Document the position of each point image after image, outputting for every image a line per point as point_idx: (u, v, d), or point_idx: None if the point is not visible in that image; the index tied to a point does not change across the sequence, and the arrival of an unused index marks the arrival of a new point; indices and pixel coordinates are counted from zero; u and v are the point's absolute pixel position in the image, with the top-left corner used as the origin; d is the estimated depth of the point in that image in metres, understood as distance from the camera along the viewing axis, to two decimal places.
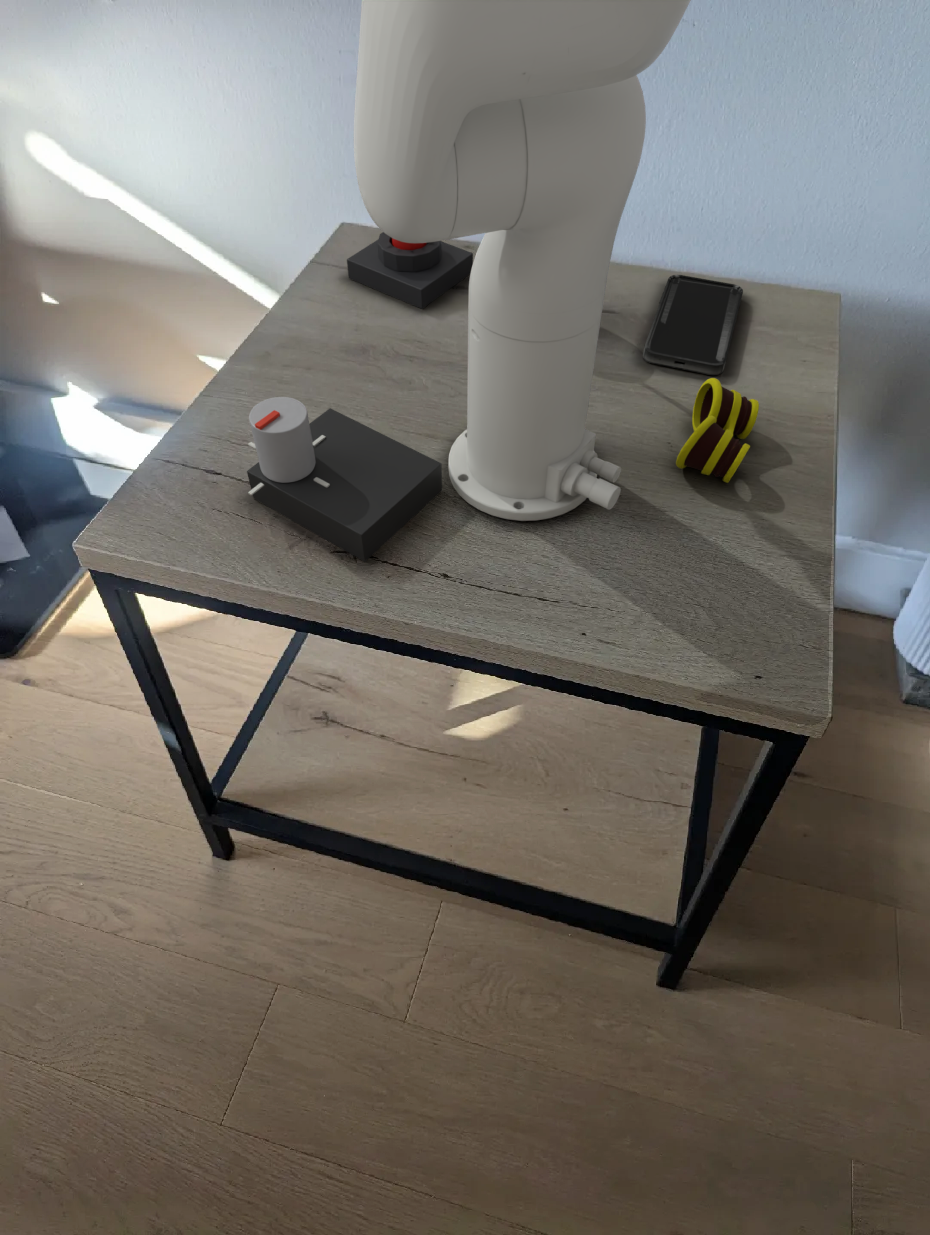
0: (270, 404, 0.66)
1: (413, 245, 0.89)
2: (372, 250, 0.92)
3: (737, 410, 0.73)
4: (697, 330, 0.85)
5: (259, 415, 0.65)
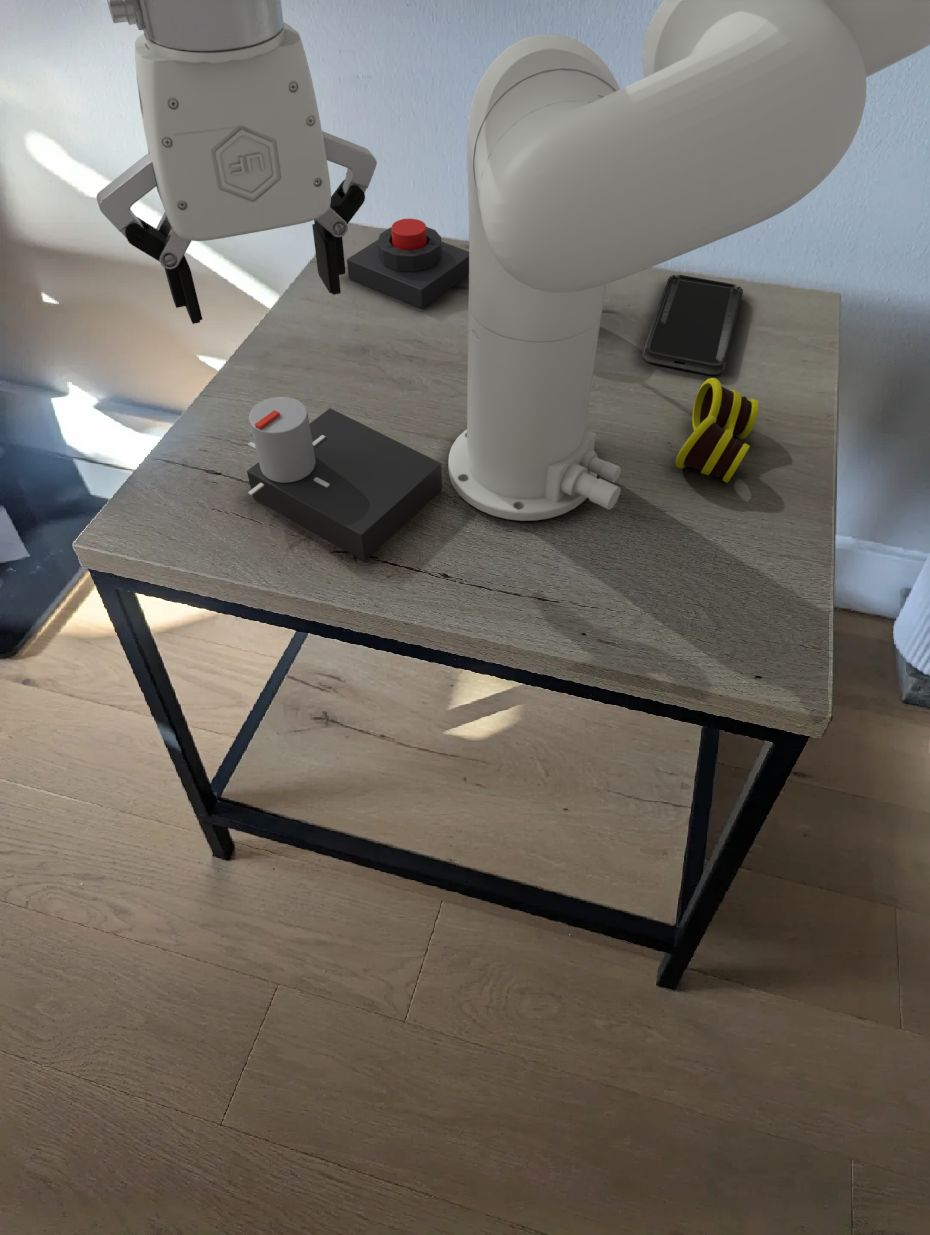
0: (270, 404, 0.66)
1: (413, 245, 0.89)
2: (372, 250, 0.92)
3: (736, 410, 0.73)
4: (697, 330, 0.85)
5: (259, 415, 0.65)
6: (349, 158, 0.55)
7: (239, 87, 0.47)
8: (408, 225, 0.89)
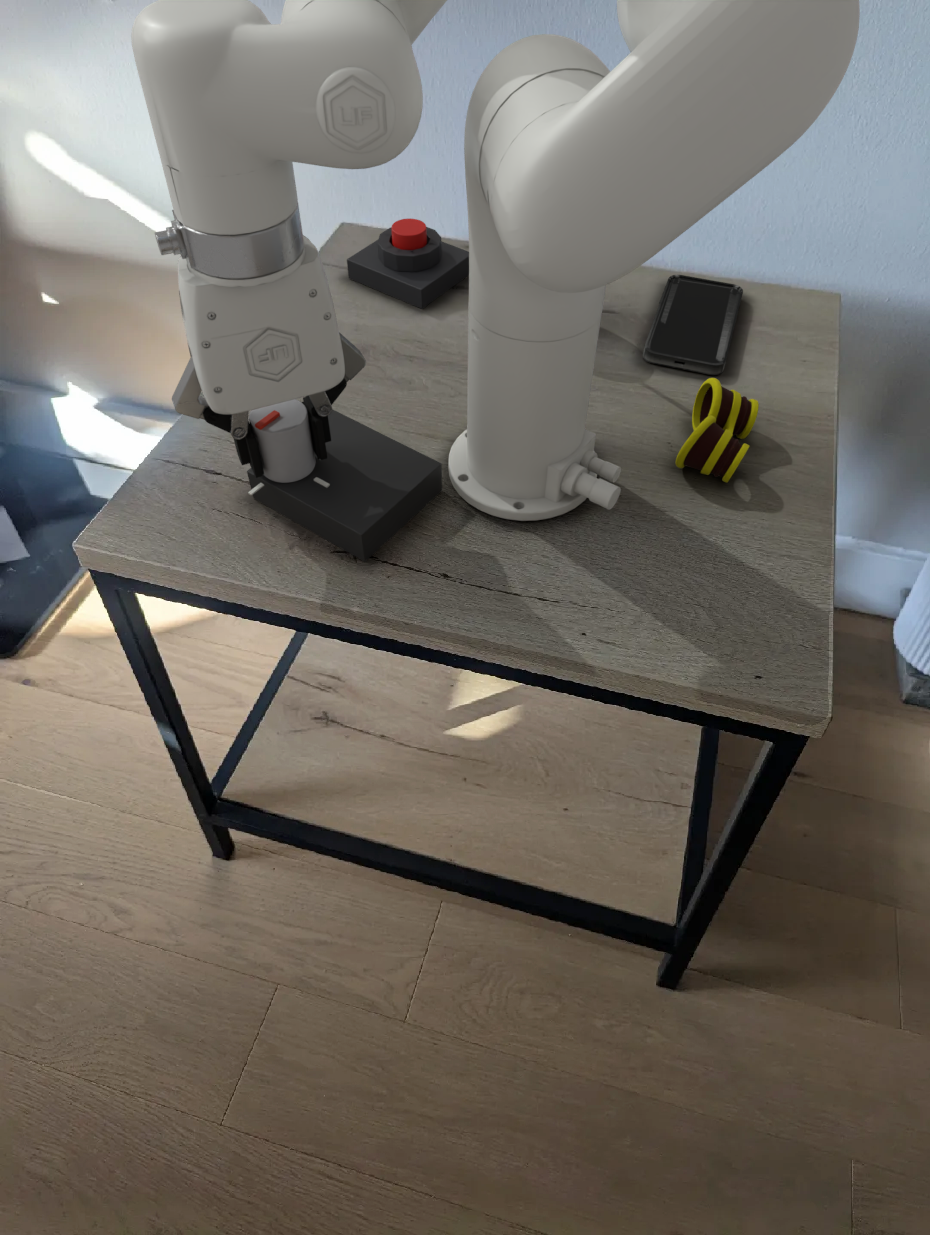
0: None
1: (413, 245, 0.89)
2: (372, 250, 0.92)
3: (736, 410, 0.73)
4: (697, 330, 0.85)
5: (259, 415, 0.65)
6: (346, 354, 0.64)
7: (267, 299, 0.56)
8: (408, 225, 0.89)
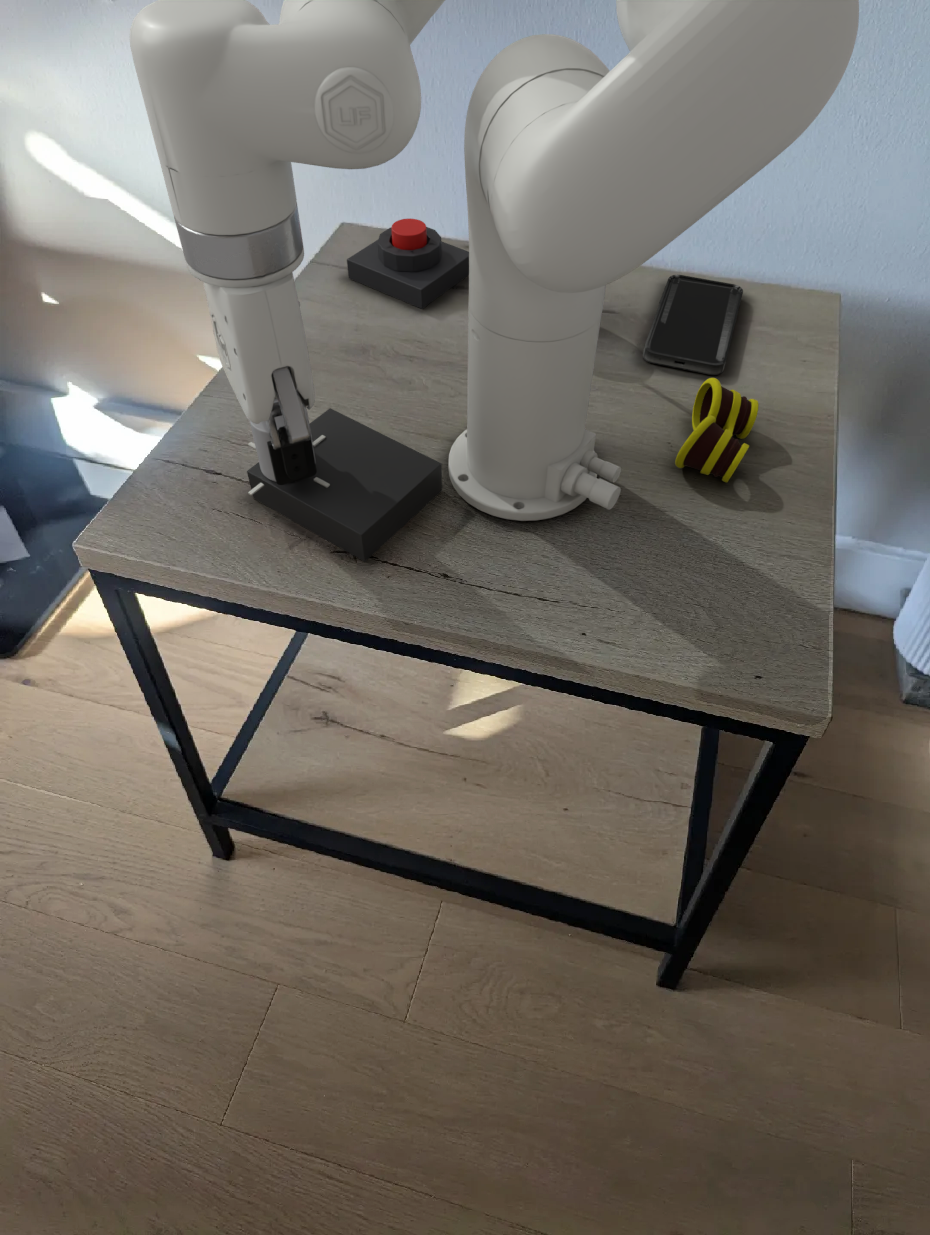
0: None
1: (413, 245, 0.89)
2: (372, 250, 0.92)
3: (736, 410, 0.73)
4: (697, 330, 0.85)
5: None
6: (284, 416, 0.59)
7: (209, 290, 0.56)
8: (408, 225, 0.89)
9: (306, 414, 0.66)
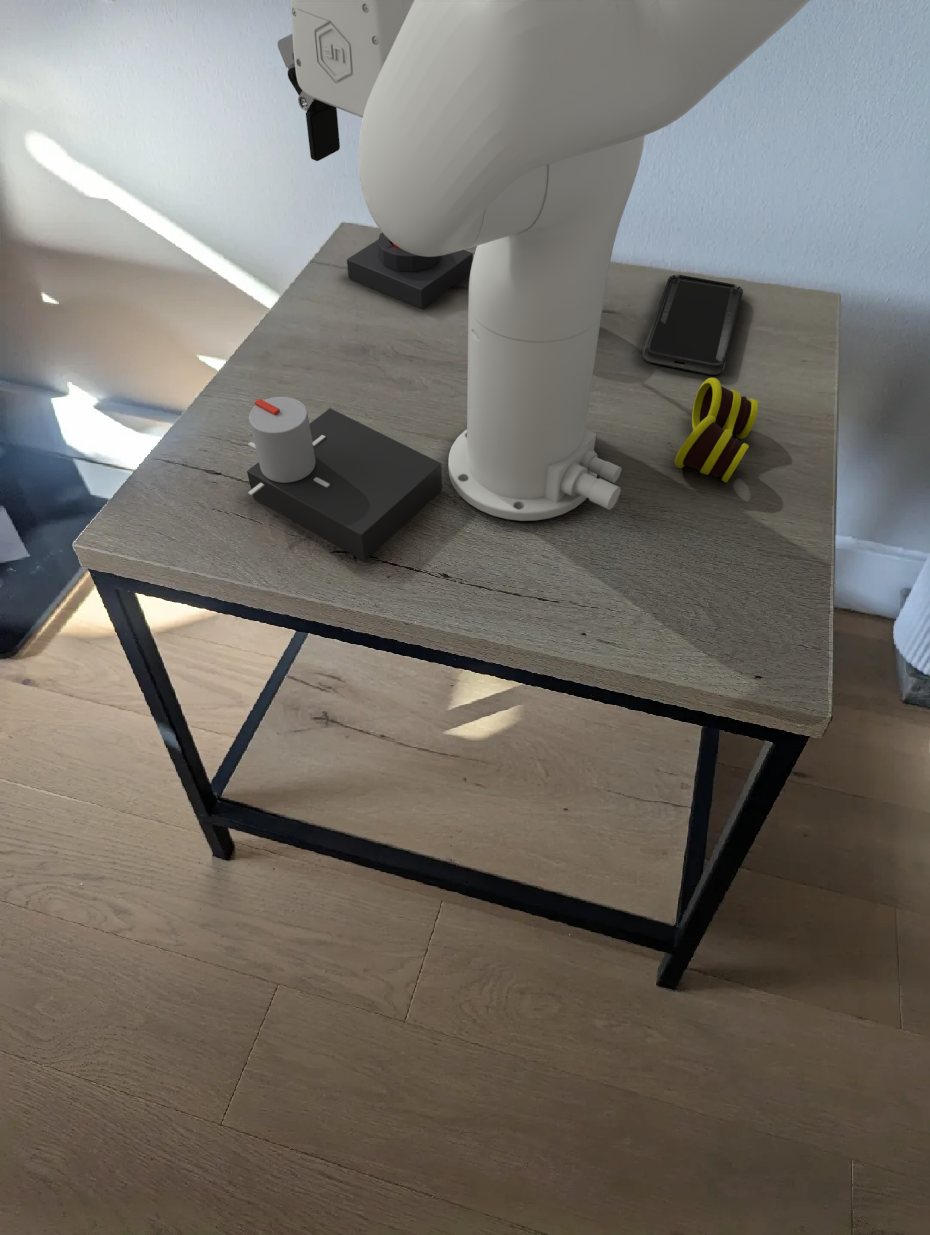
0: (295, 408, 0.66)
1: None
2: (372, 250, 0.92)
3: (736, 410, 0.74)
4: (697, 330, 0.85)
5: (278, 402, 0.66)
6: None
7: None
8: None
9: (306, 414, 0.66)
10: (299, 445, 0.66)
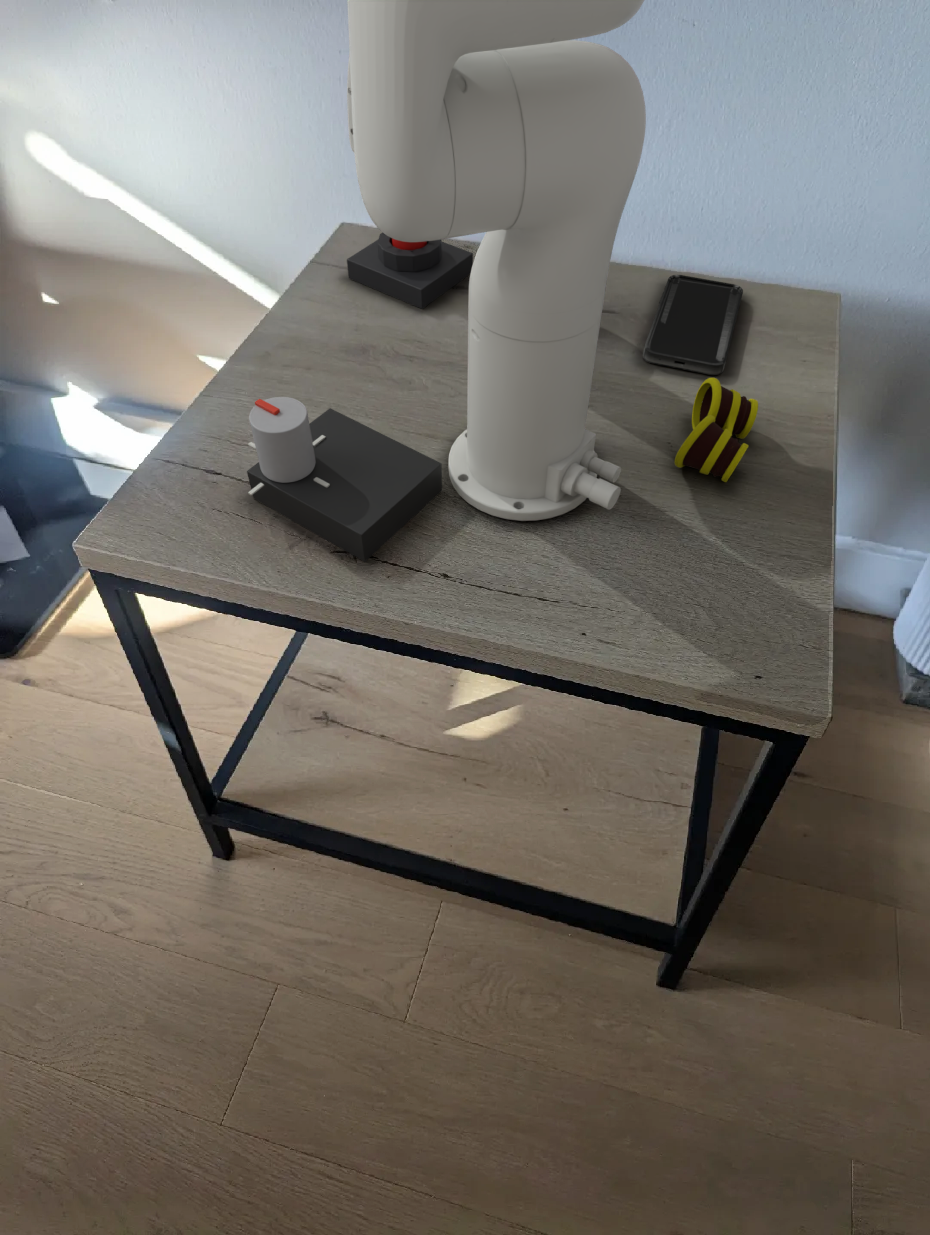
0: (295, 408, 0.66)
1: None
2: (372, 250, 0.92)
3: (736, 410, 0.74)
4: (697, 330, 0.85)
5: (278, 402, 0.66)
6: None
7: None
8: None
9: (306, 414, 0.66)
10: (299, 445, 0.66)
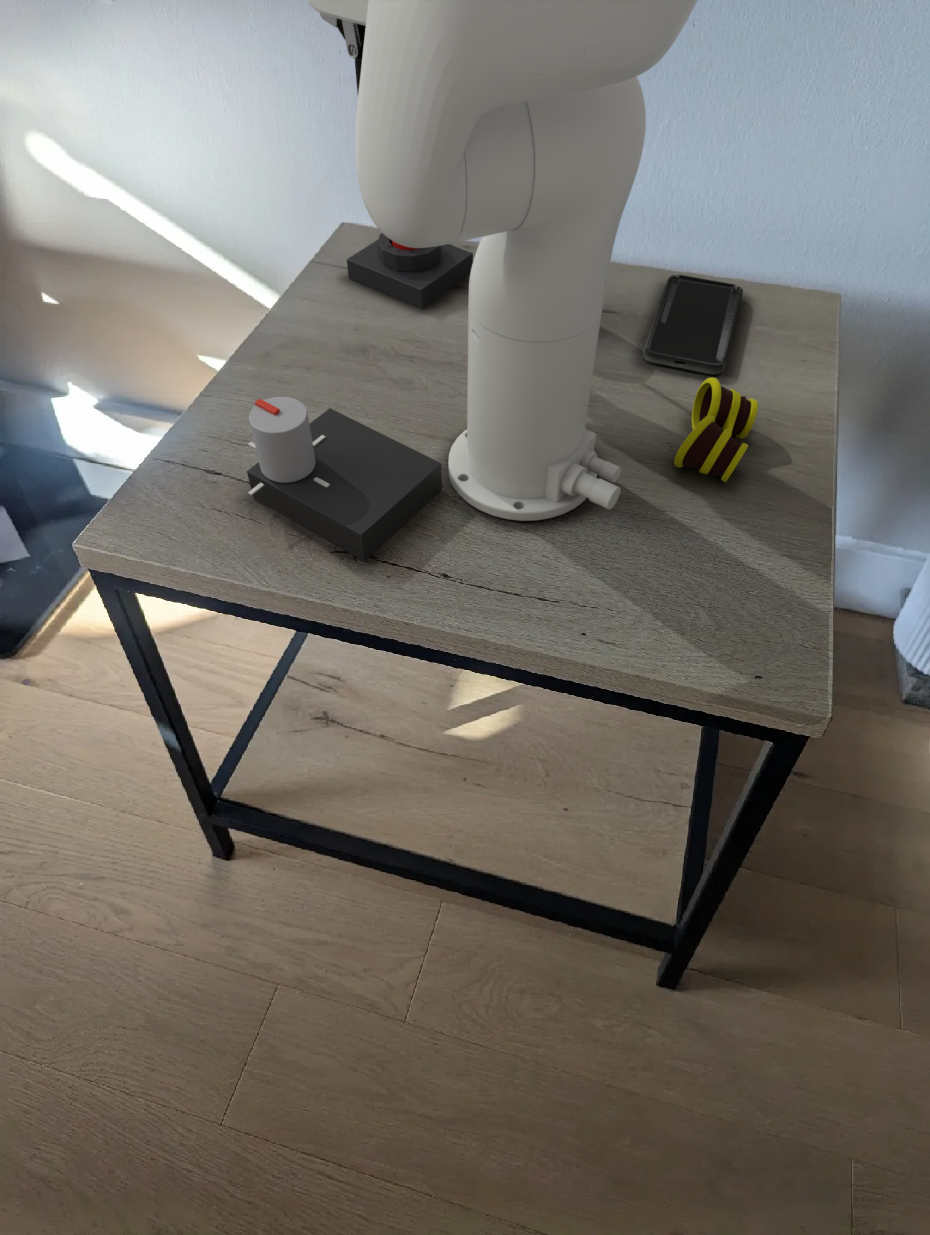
0: (295, 408, 0.66)
1: None
2: (372, 250, 0.92)
3: (735, 410, 0.74)
4: (697, 330, 0.85)
5: (278, 402, 0.66)
6: None
7: None
8: None
9: (306, 414, 0.66)
10: (299, 445, 0.66)
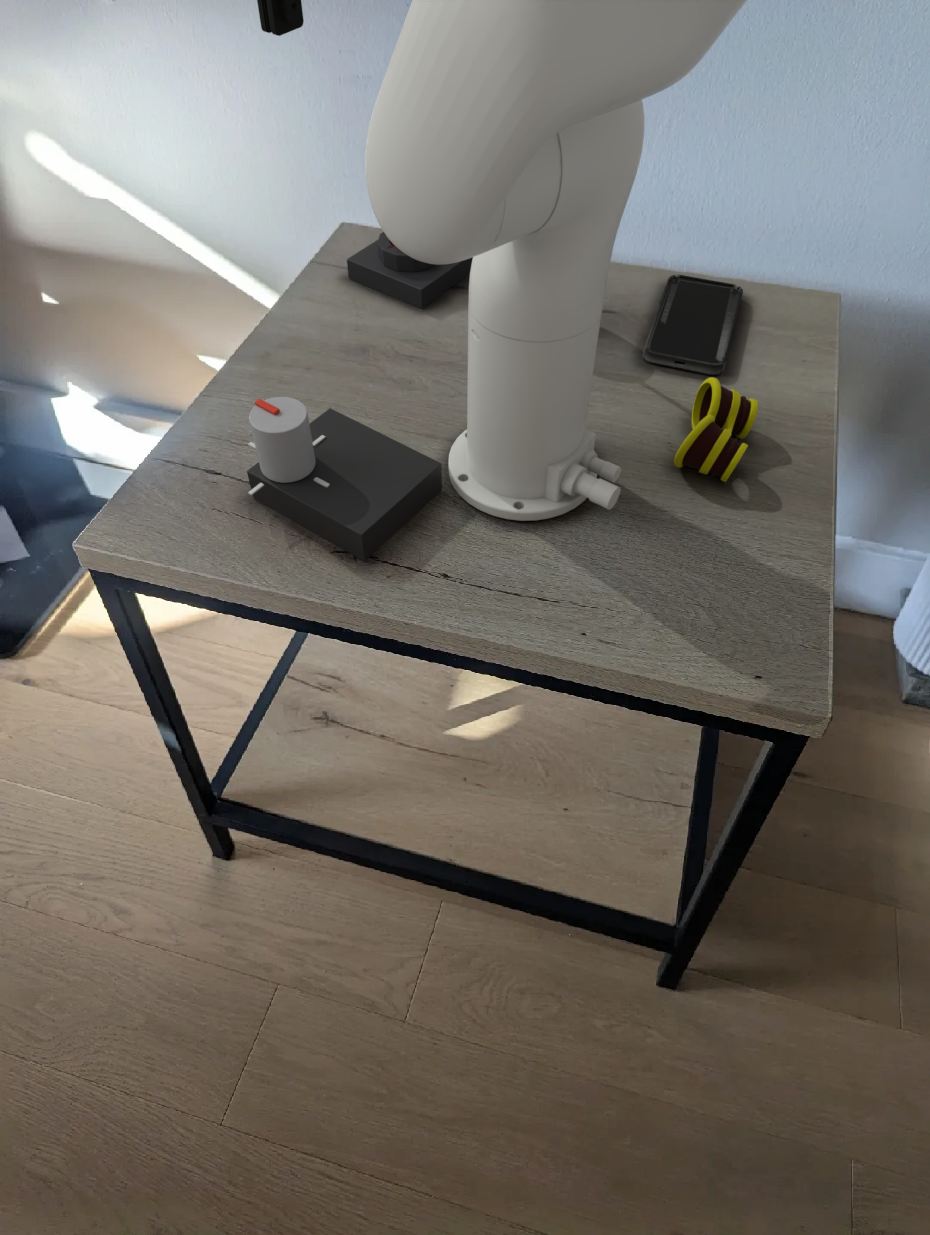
0: (295, 408, 0.66)
1: None
2: (372, 250, 0.92)
3: (735, 410, 0.74)
4: (697, 330, 0.85)
5: (278, 402, 0.66)
6: None
7: None
8: None
9: (306, 414, 0.66)
10: (299, 445, 0.66)
